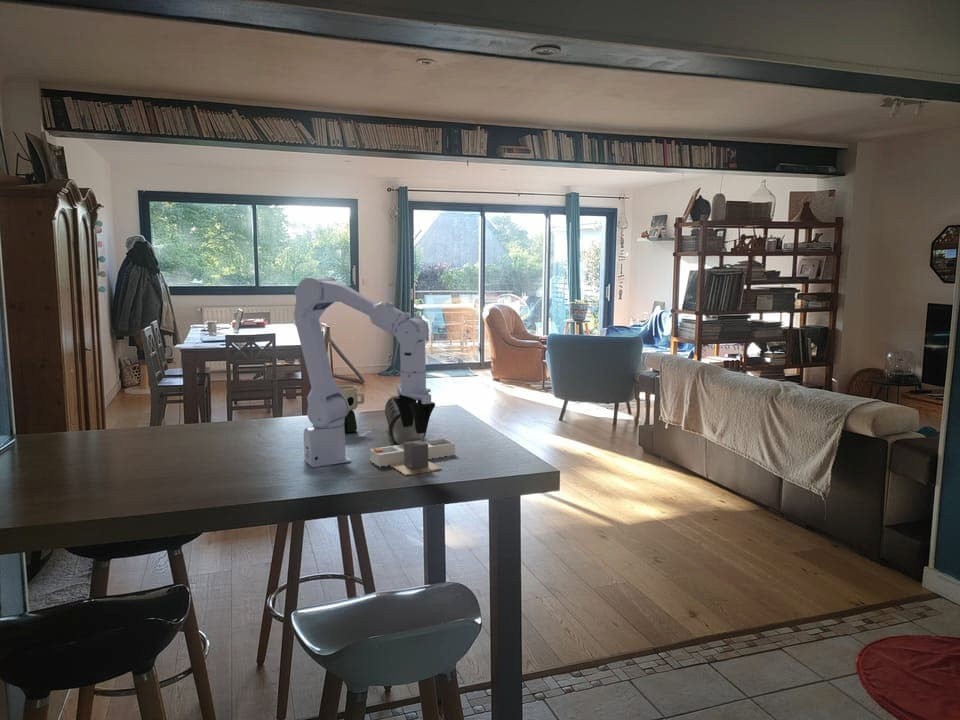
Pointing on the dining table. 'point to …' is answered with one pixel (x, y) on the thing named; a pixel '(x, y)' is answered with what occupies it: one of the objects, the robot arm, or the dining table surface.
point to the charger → (416, 454)
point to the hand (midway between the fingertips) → (414, 429)
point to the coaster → (407, 471)
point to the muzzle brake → (400, 425)
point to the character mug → (351, 405)
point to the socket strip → (396, 453)
